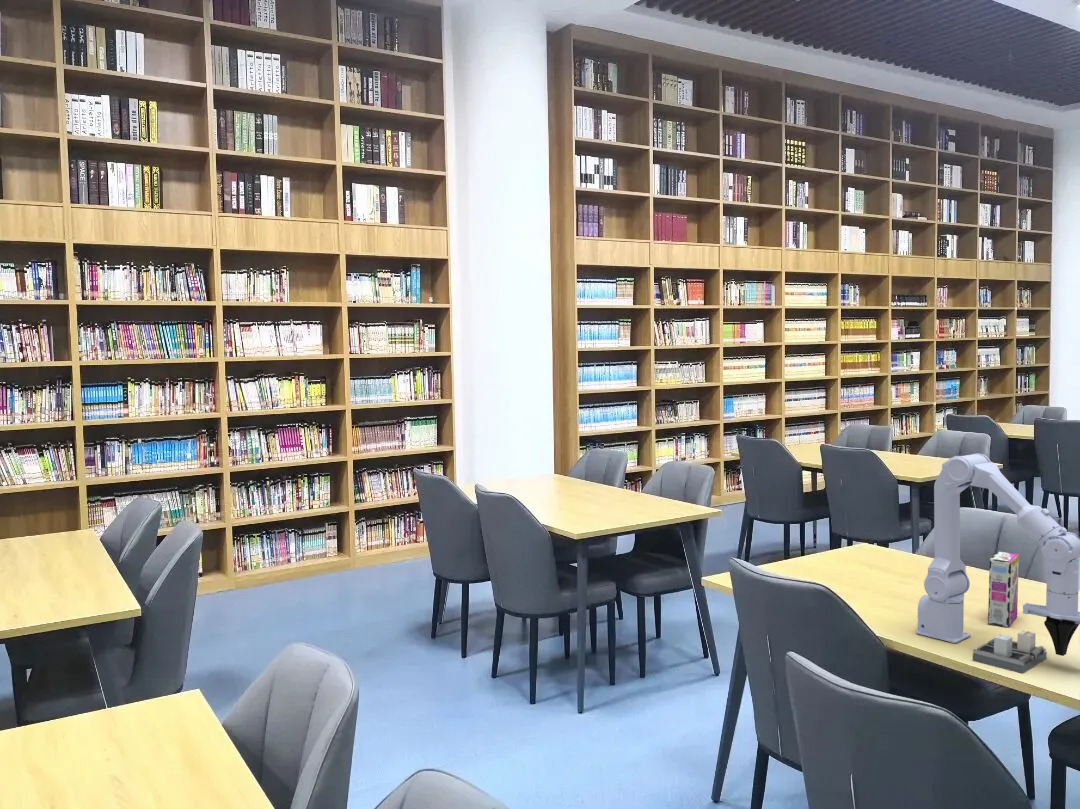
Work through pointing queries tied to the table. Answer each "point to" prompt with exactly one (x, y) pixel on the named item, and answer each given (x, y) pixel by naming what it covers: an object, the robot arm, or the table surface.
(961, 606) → the robot arm
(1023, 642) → the fader
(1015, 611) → the candy bar box
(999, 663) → the grey divided tray
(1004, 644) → the block
